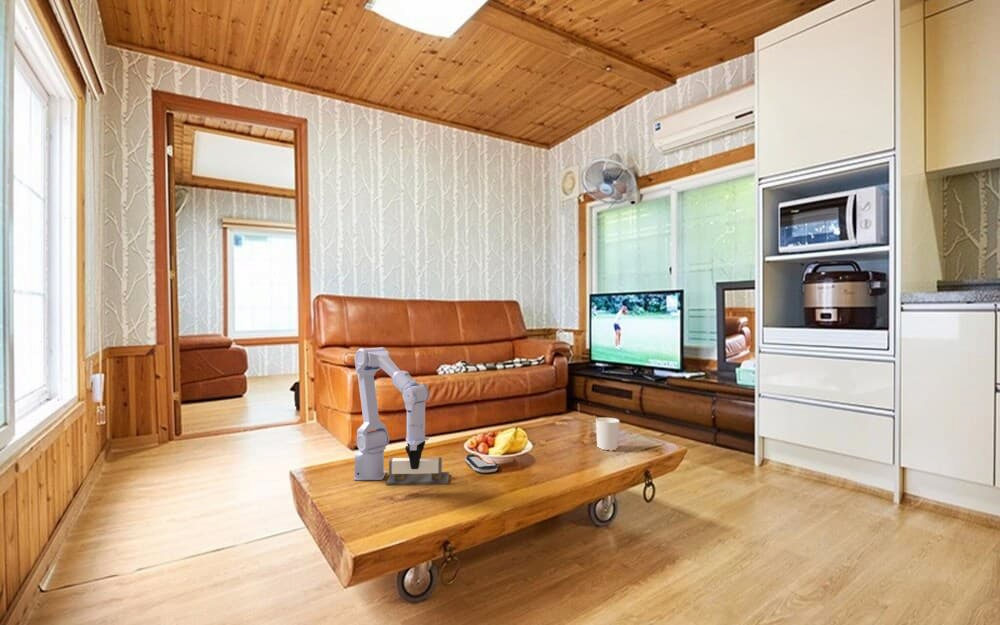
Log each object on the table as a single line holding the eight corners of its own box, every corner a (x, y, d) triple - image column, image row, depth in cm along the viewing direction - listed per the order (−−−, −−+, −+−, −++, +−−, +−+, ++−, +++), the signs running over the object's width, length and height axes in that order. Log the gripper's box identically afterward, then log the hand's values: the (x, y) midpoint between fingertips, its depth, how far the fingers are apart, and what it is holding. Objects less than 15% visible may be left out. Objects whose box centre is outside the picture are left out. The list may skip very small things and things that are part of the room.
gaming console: (462, 460, 182) (462, 453, 182) (484, 457, 186) (484, 451, 186) (477, 476, 164) (477, 469, 164) (501, 473, 167) (501, 466, 167)
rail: (388, 474, 146) (389, 461, 146) (390, 470, 149) (390, 458, 149) (440, 473, 148) (441, 460, 148) (441, 470, 151) (441, 457, 151)
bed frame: (386, 485, 154) (386, 466, 154) (390, 475, 163) (390, 458, 163) (448, 483, 156) (448, 465, 156) (448, 474, 165) (449, 457, 165)
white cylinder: (592, 445, 202) (592, 417, 202) (614, 445, 203) (614, 417, 203) (599, 452, 192) (599, 422, 192) (622, 451, 194) (623, 422, 194)
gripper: (426, 429, 142) (426, 474, 142) (430, 418, 156) (429, 459, 156) (402, 429, 141) (402, 474, 141) (408, 418, 155) (408, 459, 156)
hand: (415, 466), depth 148 cm, fingers closed on rail, 3 cm apart
